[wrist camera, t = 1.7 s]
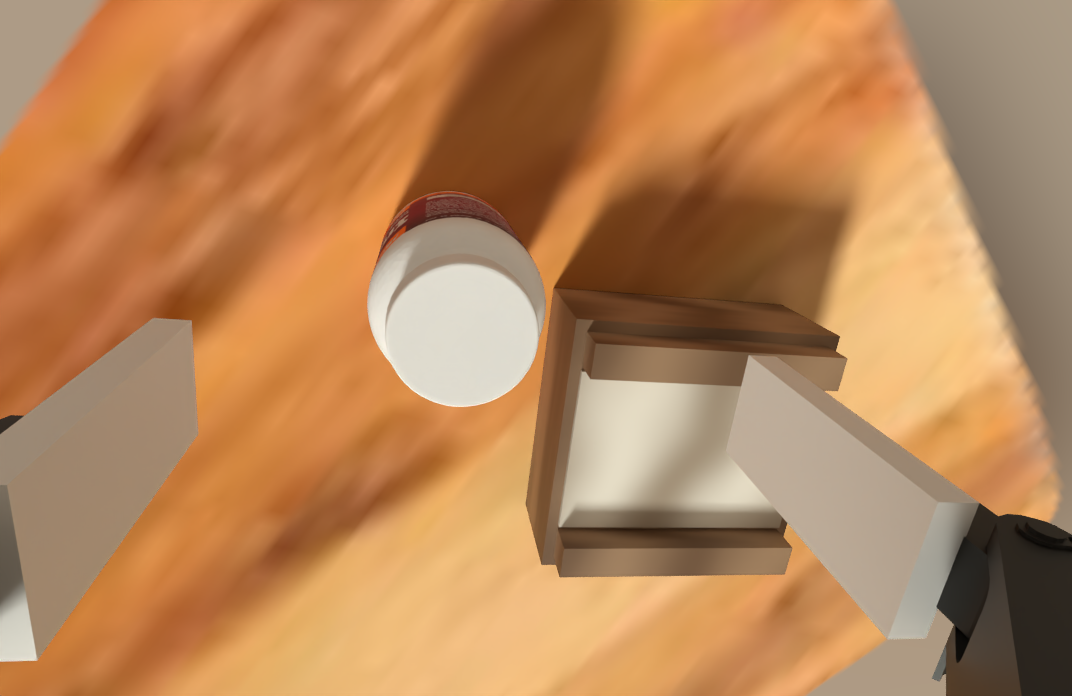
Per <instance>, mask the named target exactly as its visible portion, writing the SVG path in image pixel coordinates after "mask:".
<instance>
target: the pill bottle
mask: <svg viewBox="0 0 1072 696" xmlns="http://www.w3.org/2000/svg"><path fill="white" fill-rule="evenodd" d="M367 307H368V317H369V322H370V326H371V330H372V333H373V335H374V338H375V340H376V342H377V344H378V346H379V348H380V349H381V351H382V353H383V354H384V356H385V357H386V358H387V359H388V361H389V362H390V363H391V364H392V366H393V368H394V369H395V371H396V373H397V374H398V376H399V377H400V378H401V379H402V381H403V382H404V383H405V384H406V385H407V386H408V387H409V388H410V389H411V390H413V391H414V392H416V393H417V394H418V395H420V396H422V397H424V398H426V399H428V400H430V401H433V402H435V403H439V404H442V405H447V406H454V407H467V406H475V405H480V404H484V403H487V402H490V401H492V400H495V399H497V398H499V397H500V396H502V395H504V394H505V393H507V392H509V391H510V390H511V389H512V388H514V387H515V386H516V385H517V384H518V383H519V382H520V381H521V380H522V379H523V377H524V376H525V374H526V373H527V372H528V370H529V369H530V367H531V365H532V363H533V360H534V358H535V355H536V351H537V348H538V341H539V337H540V334H541V331H542V328H543V324H544V319H545V310H546V300H545V292H544V286H543V283H542V279H541V276H540V273H539V271H538V269H537V267H536V265H535V263H534V261H533V259H532V257H531V256H530V254H529V253H528V252H527V250H526V248H525V247H524V246H523V244H522V243H521V241H520V240H519V239H518V237H517V236H516V234H515V233H514V231H513V229H512V228H511V226H510V225H509V224H508V222H507V221H506V219H505V218H504V217H503V216H502V215H501V214H500V213H499V212H498V211H497V210H496V209H495V208H494V207H493V206H491V205H490V204H488V203H487V202H486V201H484V200H482V199H480V198H478V197H476V196H473V195H470V194H467V193H463V192H456V191H441V192H435V193H430V194H427V195H424V196H422V197H420V198H418V199H416V200H414V201H412V202H411V203H409V204H408V205H407V206H405V207H404V208H403V209H402V210H401V211H400V212H399V213H398V214H397V215H396V216H395V218H394V219H393V220H392V222H391V223H390V225H389V227H388V229H387V231H386V233H385V235H384V238H383V241H382V245H381V249H380V252H379V256H378V259H377V262H376V265H375V268H374V271H373V274H372V278H371V281H370V286H369V291H368V303H367Z"/></svg>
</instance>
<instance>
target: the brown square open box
mask: <svg viewBox="0 0 1072 696" xmlns="http://www.w3.org/2000/svg"><path fill="white" fill-rule="evenodd" d="M839 338H840V336H838V335H836V334H835V333H833V332H831V331H829V330H827V329H825V328H823V327H822V326H820V325H818V324H816V323H814V322H812V321H811V320H809V319H807V318H805V317H803V316H801V315H799V314H798V313H796V312H794V311H792V310H790V309H788V308H787V307H785V306H783V305H775V304H762V303H749V302H735V301H722V300H709V299H695V298H682V297H669V296H655V295H642V294H629V293H615V292H602V291H589V290H575V289H562V288H554V290H553V297H552V305H551V313H550V321H549V328H548V336H547V344H546V352H545V359H544V367H543V375H542V383H541V390H540V398H539V406H538V414H537V421H536V429H535V437H534V445H533V452H532V460H531V468H530V476H529V483H528V491H527V499H526V507H527V511H528V515H529V519H530V522H531V526H532V530H533V534H534V538H535V542H536V545H537V549H538V553H539V557H540V561H541V564H542V565H556V566H557V570H558V573H559V577H620V576H701V575H782V574H785V572H786V568H787V565H788V561H789V558H790V555H791V551H792V547H791V546H790V545H789V543H788V542H787V541H786V540H785V539H784V537H783V536H784V532H785V529H786V525H787V522H786V521H785V520H784V518H783V517H782V516H781V515H780V514H779V513H778V512H777V510H776V509H775V508H774V507H773V506H772V505H771V503H770V502H769V501H768V500H767V499H766V498H765V496H764V495H763V494H762V493H761V492H760V491H759V489H758V488H757V487H756V486H755V485H754V484H753V482H752V481H751V480H750V479H749V478H748V477H747V475H746V474H745V473H744V472H743V471H742V470H741V468H740V467H739V466H738V465H737V464H736V463H735V462H734V460H733V459H732V458H731V457H730V456H729V455H728V453H727V452H726V448H727V444H728V440H729V435H730V431H731V427H732V423H733V419H734V415H735V410H736V406H737V402H738V398H739V394H740V390H741V386H742V381H743V377H744V373H745V369H746V365H747V361H748V356H749V355H755V356H771V357H777V358H779V359H780V360H782V361H783V362H784V363H786V364H787V365H788V366H790V367H791V368H793V369H794V370H795V371H797V372H798V373H800V374H801V375H802V376H804V377H805V378H807V379H808V380H809V381H811V382H812V383H813V384H815V385H816V386H818V387H819V388H820V389H822V390H823V391H838V389H839V386H840V382H841V379H842V375H843V372H844V368H845V365H846V362H847V358H846V357H844V356H842V355H841V354H839V353H837V352H836V349H837V345H838V342H839Z"/></svg>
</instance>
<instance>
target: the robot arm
mask: <svg viewBox="0 0 1072 696" xmlns="http://www.w3.org/2000/svg"><path fill="white" fill-rule="evenodd" d="M197 435H198V421H197V404H196V388H195V371H194V354H193V337H192V321H191V320H175V319H159V318H153V319H151V320H150V321H149V322H147V323H146V324H145V325H143V326H142V327H141V328H140V329H138V330H137V331H136V332H134V333H133V334H132V335H130V336H129V337H128V338H126V339H125V340H124V341H122V342H121V343H120V344H118V345H117V346H116V347H114V348H113V349H112V350H111V351H109V352H108V353H107V354H105V355H104V356H103V357H101V358H100V359H99V360H97V361H96V362H95V363H93V364H92V365H91V366H89V367H88V368H87V369H86V370H84V371H83V372H82V373H80V374H79V375H78V376H76V377H75V378H74V379H72V380H71V381H70V382H68V383H67V384H66V385H64V386H63V387H62V388H61V389H59V390H58V391H57V392H55V393H54V394H53V395H51V396H50V397H49V398H47V399H46V400H45V401H43V402H42V403H41V404H39V405H38V406H37V407H35V408H34V409H33V410H32V411H30V412H29V413H28V414H26V415H25V416H14V415H10V416H8V417H5V418H3V419H0V661H37V660H38V659H39V657H40V656H41V655H42V653H43V652H44V650H45V649H46V648H47V646H48V645H49V643H50V642H51V640H52V639H53V638H54V636H55V635H56V633H57V632H58V631H59V629H60V628H61V626H62V625H63V624H64V622H65V621H66V619H67V618H68V617H69V615H70V614H71V612H72V611H73V610H74V608H75V607H76V605H77V604H78V603H79V601H80V600H81V598H82V597H83V595H84V594H85V593H86V591H87V590H88V588H89V587H90V586H91V584H92V583H93V581H94V580H95V579H96V577H97V576H98V574H99V573H100V572H101V570H102V569H103V567H104V566H105V565H106V563H107V562H108V560H109V559H110V557H111V556H112V555H113V553H114V552H115V550H116V549H117V548H118V546H119V545H120V543H121V542H122V541H123V539H124V538H125V536H126V535H127V534H128V532H129V531H130V529H131V528H132V527H133V525H134V524H135V522H136V521H137V520H138V518H139V517H140V515H141V514H142V512H143V511H144V510H145V508H146V507H147V505H148V504H149V503H150V501H151V500H152V498H153V497H154V496H155V494H156V493H157V491H158V490H159V489H160V487H161V486H162V484H163V483H164V482H165V480H166V479H167V477H168V476H169V474H170V473H171V472H172V470H173V469H174V467H175V466H176V465H177V463H178V462H179V460H180V459H181V458H182V456H183V455H184V453H185V452H186V451H187V449H188V448H189V446H190V445H191V444H192V442H193V441H194V439H195V438H196V437H197ZM726 452H727V453H728V455H729V456H730V457H731V458H732V459H733V460H734V462H735V463H736V464H737V465H738V466H739V467H740V468H741V470H742V471H743V472H744V473H745V474H746V475H747V477H748V478H749V479H750V480H751V481H752V482H753V484H754V485H755V486H756V487H757V488H758V489H759V491H760V492H761V493H762V494H763V495H764V496H765V498H766V499H767V500H768V501H769V502H770V503H771V505H772V506H773V507H774V508H775V509H776V510H777V512H778V513H779V514H780V515H781V516H782V517H783V518H784V520H785V521H786V522H787V523H788V524H789V525H790V527H791V528H792V529H793V530H794V531H795V532H796V534H797V535H798V536H799V537H800V538H801V539H802V541H803V542H804V543H805V544H806V545H807V546H808V548H809V549H810V550H811V551H812V552H813V553H814V555H815V556H816V557H817V558H818V559H819V560H820V562H821V563H822V564H823V565H824V566H825V567H826V569H827V570H828V571H829V572H830V573H831V574H832V575H833V577H834V578H835V579H836V580H837V581H838V582H839V584H840V585H841V586H842V587H843V588H844V589H845V591H846V592H847V593H848V594H849V595H850V596H851V598H852V599H853V600H854V601H855V602H856V603H857V605H858V606H859V607H860V608H861V609H862V610H863V612H864V613H865V614H866V615H867V616H868V617H869V619H870V620H871V621H872V622H873V623H874V624H875V626H876V627H877V628H878V629H879V630H880V631H881V632H882V634H883V635H884V636H885V637H886V638H887V639H917V638H926V637H927V634H928V631H929V629H930V627H931V624H932V622H933V619H934V617H935V614H936V611H937V609H939V610H940V611H941V612H942V613H943V614H944V615H945V616H946V617H947V618H948V619H949V620H950V621H951V622H952V623H953V624H954V626H953V628H952V631H951V633H950V636H949V638H948V641H947V643H946V645H945V648H944V650H943V653H942V655H941V657H940V660H939V663H938V665H937V667H936V670H935V672H934V675H933V677H932V679H934V680H937V681H940V679H941V677H942V675H944V674H946V696H1072V535H1071V534H1069V533H1068V532H1066V531H1064V530H1062V529H1060V528H1058V527H1057V526H1055V525H1052V524H1050V523H1048V522H1045V521H1041V520H1038V519H1034V518H1030V517H1026V516H1022V515H1013V514H1006V515H1002V516H999V517H998V516H997V515H995V514H994V513H993V512H991V511H990V510H989V509H987V508H986V507H984V506H983V505H982V504H980V503H979V502H977V501H976V500H975V499H973V498H972V497H970V496H969V495H968V494H966V493H965V492H964V491H962V490H961V489H959V488H958V487H957V486H955V485H954V484H952V483H951V482H950V481H948V480H947V479H945V478H944V477H943V476H941V475H940V474H938V473H937V472H936V471H934V470H933V469H932V468H930V467H929V466H927V465H926V464H925V463H923V462H922V461H920V460H919V459H918V458H916V457H915V456H913V455H912V454H911V453H909V452H908V451H907V450H905V449H904V448H902V447H901V446H900V445H898V444H897V443H895V442H894V441H893V440H891V439H890V438H888V437H887V436H886V435H884V434H883V433H882V432H880V431H879V430H877V429H876V428H875V427H873V426H872V425H870V424H869V423H868V422H866V421H865V420H863V419H862V418H861V417H859V416H858V415H857V414H855V413H854V412H852V411H851V410H850V409H848V408H847V407H845V406H844V405H843V404H841V403H840V402H838V401H837V400H836V399H834V398H833V397H832V396H830V395H829V394H827V393H826V392H825V391H823V390H822V389H820V388H819V387H818V386H816V385H815V384H813V383H812V382H811V381H809V380H808V379H807V378H805V377H804V376H802V375H801V374H800V373H798V372H797V371H795V370H794V369H793V368H791V367H790V366H788V365H787V364H786V363H784V362H783V361H782V360H780V359H779V358H777V357H771V356H755V355H749V356H748V361H747V365H746V369H745V373H744V377H743V381H742V386H741V390H740V394H739V398H738V402H737V406H736V410H735V415H734V419H733V423H732V427H731V431H730V435H729V440H728V444H727V448H726Z"/></svg>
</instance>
